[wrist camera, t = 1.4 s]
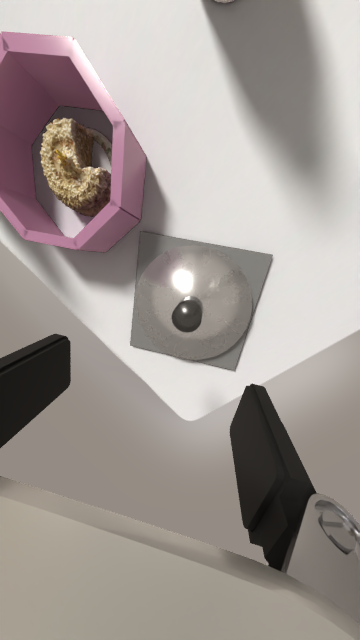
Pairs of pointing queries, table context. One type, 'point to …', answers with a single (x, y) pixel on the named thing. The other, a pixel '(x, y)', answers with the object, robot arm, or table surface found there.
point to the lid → (193, 302)
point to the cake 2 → (75, 166)
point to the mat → (248, 261)
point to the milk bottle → (224, 1)
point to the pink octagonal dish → (31, 117)
